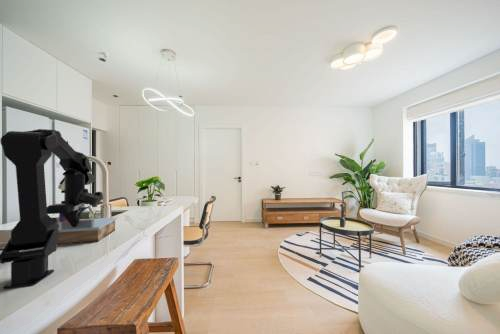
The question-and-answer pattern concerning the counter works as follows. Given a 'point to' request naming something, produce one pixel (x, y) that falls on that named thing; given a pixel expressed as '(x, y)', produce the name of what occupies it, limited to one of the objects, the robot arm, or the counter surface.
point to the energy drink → (61, 219)
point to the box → (85, 235)
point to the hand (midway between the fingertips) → (74, 226)
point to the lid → (86, 224)
